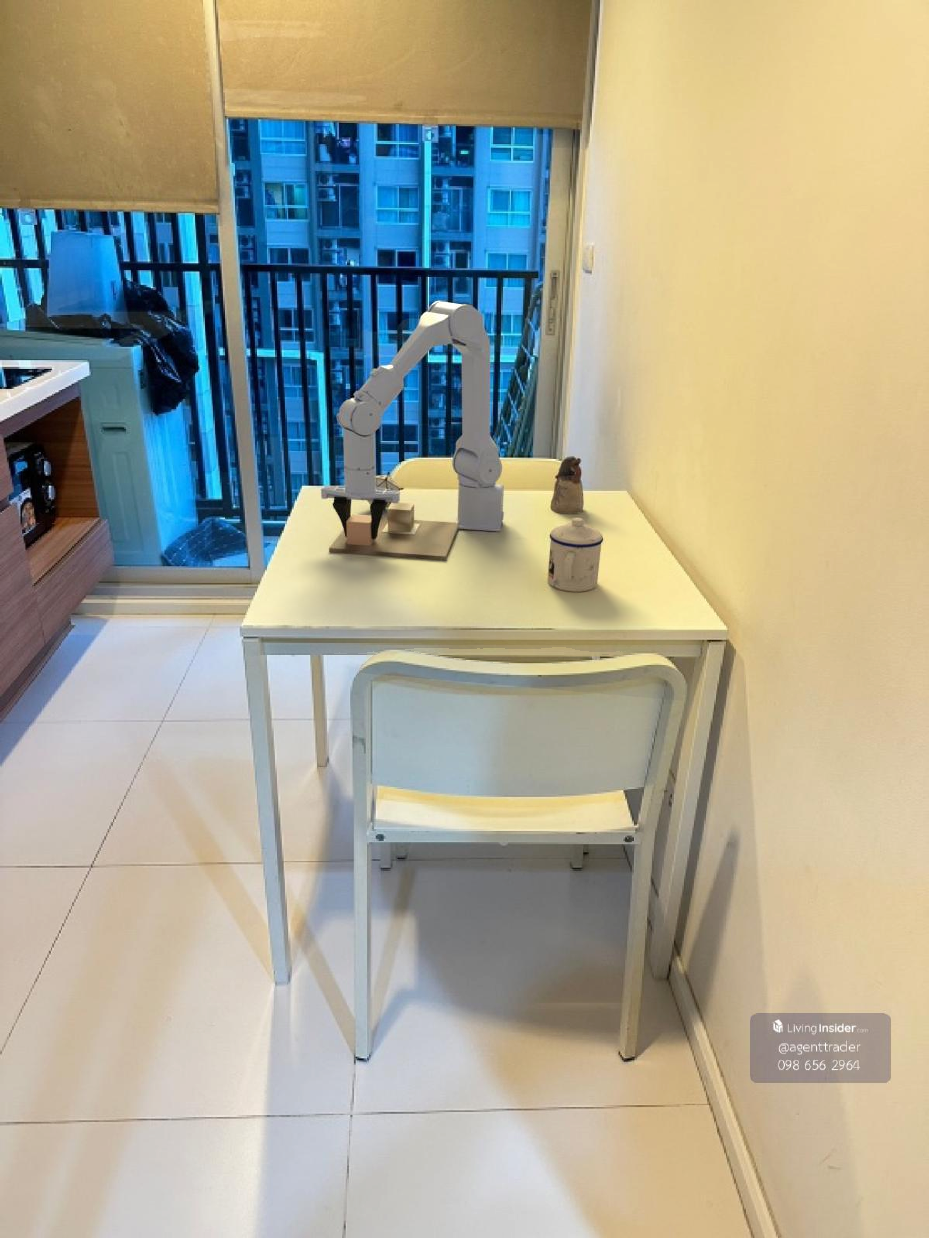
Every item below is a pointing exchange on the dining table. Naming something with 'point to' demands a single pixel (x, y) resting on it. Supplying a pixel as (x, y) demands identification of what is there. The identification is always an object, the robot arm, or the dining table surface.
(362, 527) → the terracotta block
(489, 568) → the dining table surface
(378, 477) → the game die
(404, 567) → the dining table surface
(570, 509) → the figurine
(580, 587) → the teacup with lid
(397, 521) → the birch block
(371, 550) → the brown wooden board
